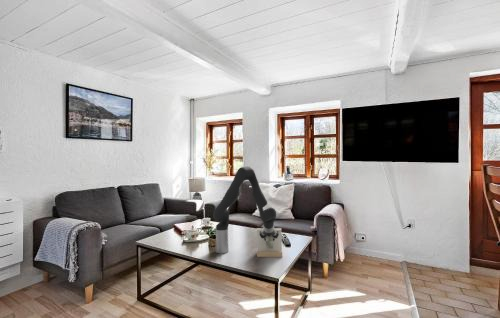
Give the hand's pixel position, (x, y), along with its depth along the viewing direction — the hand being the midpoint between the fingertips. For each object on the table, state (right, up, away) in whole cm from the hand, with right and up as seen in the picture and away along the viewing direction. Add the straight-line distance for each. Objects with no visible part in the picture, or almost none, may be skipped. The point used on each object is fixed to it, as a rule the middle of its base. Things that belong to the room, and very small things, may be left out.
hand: (269, 239), depth 185 cm
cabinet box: (0, -5, -2) cm, 6 cm away
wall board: (0, -10, -2) cm, 11 cm away
